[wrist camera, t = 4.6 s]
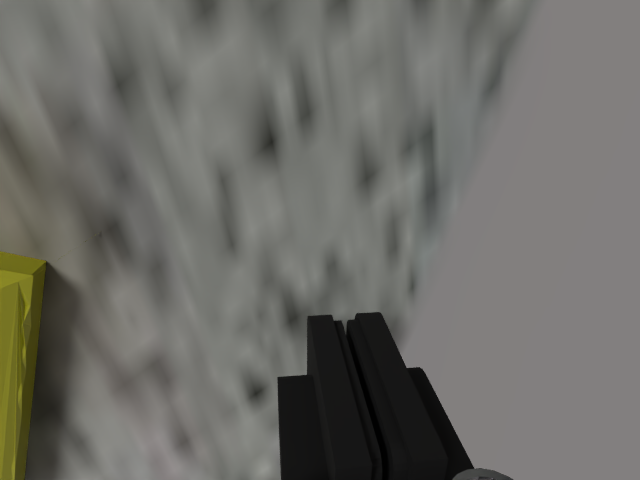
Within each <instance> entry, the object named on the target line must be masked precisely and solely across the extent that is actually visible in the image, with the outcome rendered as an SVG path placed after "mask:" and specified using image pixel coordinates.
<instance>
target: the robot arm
mask: <svg viewBox="0 0 640 480" xmlns="http://www.w3.org/2000/svg"><path fill="white" fill-rule="evenodd" d="M278 411H279V440H280V465H281V480H513V479H511V478H510V477H508V476H506V475H503V474H501V473H498V472H496V471H493V470H487V469H482V468H479V469H474V467H473V465H472V463H471V461H470V459H469V457H468V455H467V453H466V451H465V449H464V448H463V446H462V444H461V442H460V440H459V438H458V436H457V434H456V432H455V430H454V428H453V426H452V424H451V422H450V420H449V419H448V417H447V415H446V413H445V411H444V409H443V407H442V405H441V403H440V401H439V399H438V397H437V395H436V393H435V391H434V390H433V388H432V385H431V384H430V382H429V380H428V378H427V376H426V374H425V372H424V371H423V369H421V368H420V367H416V368H406V366H405V363H404V361H403V359H402V357H401V355H400V353H399V351H398V348H397V346H396V344H395V342H394V340H393V338H392V335H391V333H390V331H389V329H388V327H387V325H386V323H385V320H384V318H383V316H382V314H381V313H380V312H374V313H357V314H356V316H355V320H348V321H347V332H346V334H345V331H344V327H343V324H342V321H334V320H333V317H332V315H317V316H308V320H307V375H301V376H286V377H278Z"/></svg>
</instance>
